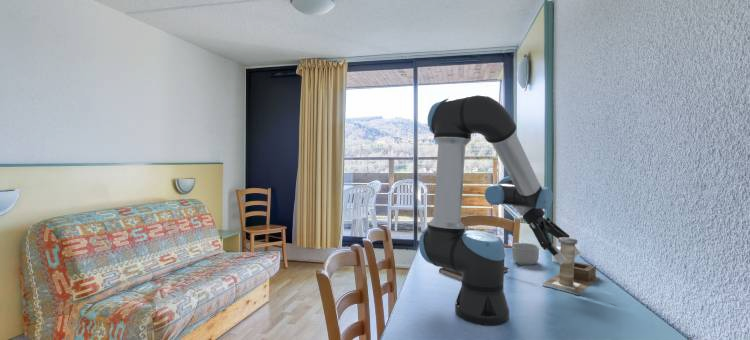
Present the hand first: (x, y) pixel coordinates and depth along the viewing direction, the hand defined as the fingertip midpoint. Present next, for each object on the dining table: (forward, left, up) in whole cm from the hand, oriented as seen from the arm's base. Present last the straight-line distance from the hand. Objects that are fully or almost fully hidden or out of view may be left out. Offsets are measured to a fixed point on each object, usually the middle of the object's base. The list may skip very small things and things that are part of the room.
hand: (571, 258), depth 125 cm
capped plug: (0, +1, -9) cm, 9 cm away
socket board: (+6, +1, -10) cm, 12 cm away
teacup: (+17, +24, -11) cm, 31 cm away
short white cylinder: (+28, +13, -11) cm, 33 cm away
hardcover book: (-10, +32, -11) cm, 35 cm away
